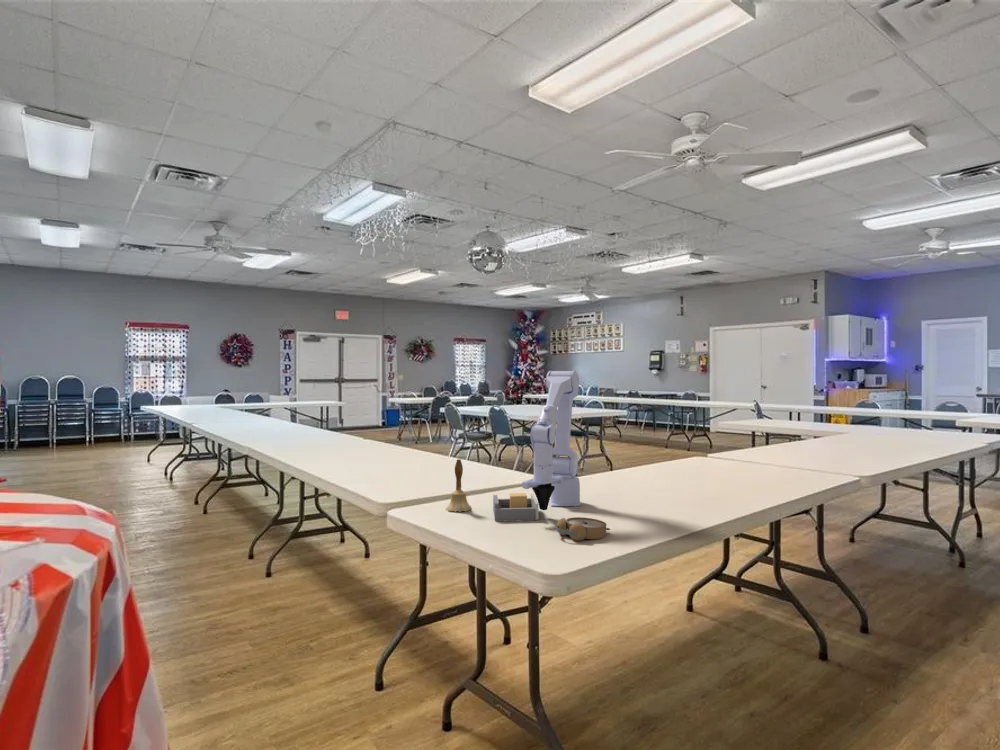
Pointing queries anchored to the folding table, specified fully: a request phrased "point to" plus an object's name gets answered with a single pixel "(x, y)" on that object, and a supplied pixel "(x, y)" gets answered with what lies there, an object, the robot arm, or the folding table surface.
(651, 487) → the folding table surface
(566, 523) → the alarm clock
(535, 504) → the tray
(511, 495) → the block
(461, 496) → the hand bell
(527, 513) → the frame
